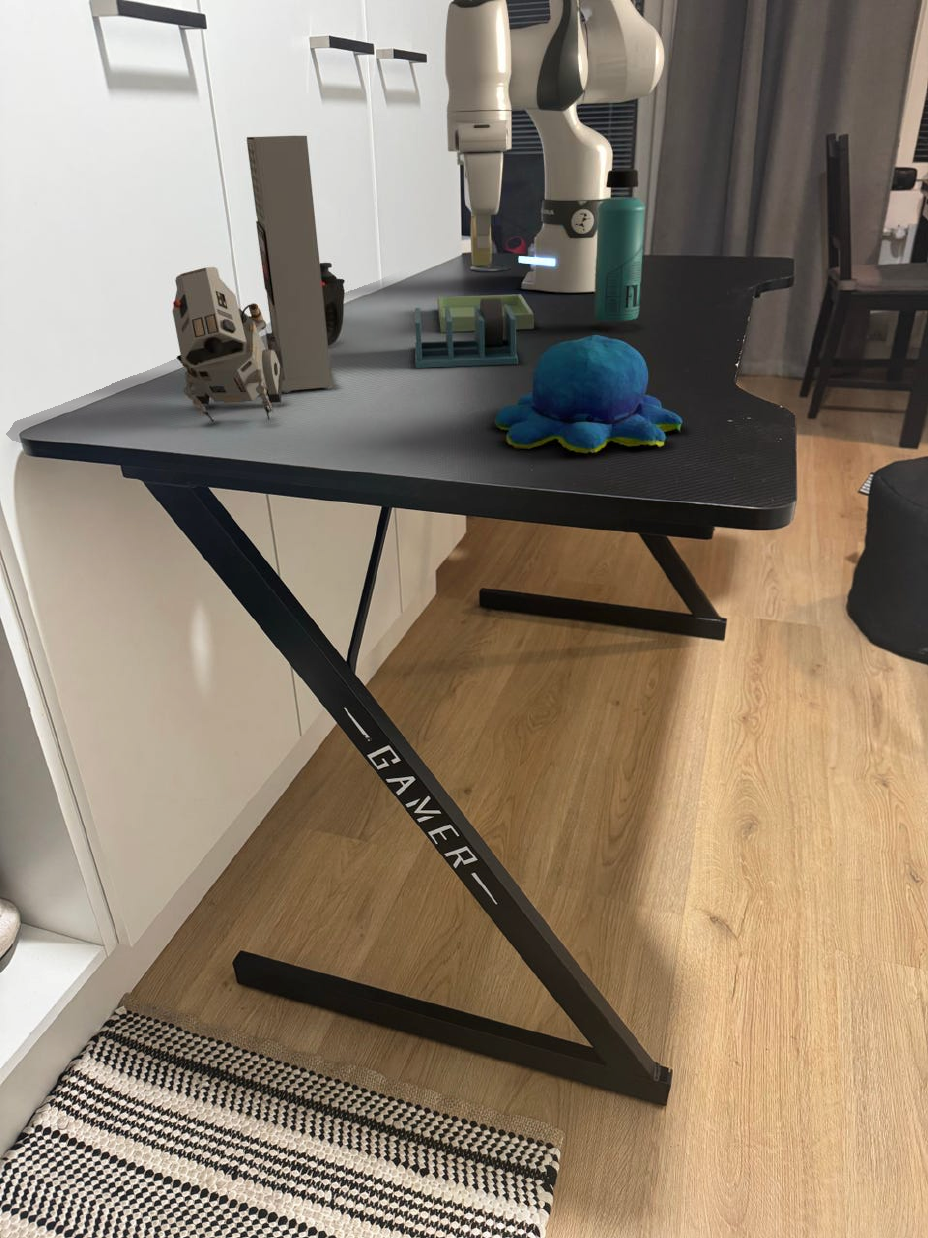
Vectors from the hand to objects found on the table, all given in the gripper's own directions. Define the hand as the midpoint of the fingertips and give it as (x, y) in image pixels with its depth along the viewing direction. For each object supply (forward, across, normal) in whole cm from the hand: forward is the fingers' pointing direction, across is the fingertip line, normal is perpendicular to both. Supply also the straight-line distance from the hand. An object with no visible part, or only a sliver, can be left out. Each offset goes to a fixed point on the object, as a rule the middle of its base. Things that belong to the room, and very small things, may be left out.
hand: (481, 245), depth 128 cm
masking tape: (-1, 0, 0) cm, 1 cm away
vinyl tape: (+7, +24, 0) cm, 25 cm away
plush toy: (+11, +56, +6) cm, 57 cm away
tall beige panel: (+11, +32, -24) cm, 41 cm away
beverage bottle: (+11, +10, +18) cm, 23 cm away
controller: (+11, +15, -23) cm, 29 cm away
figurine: (+11, +43, -28) cm, 53 cm away
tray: (+10, 0, 0) cm, 10 cm away
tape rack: (+10, +24, -4) cm, 26 cm away
